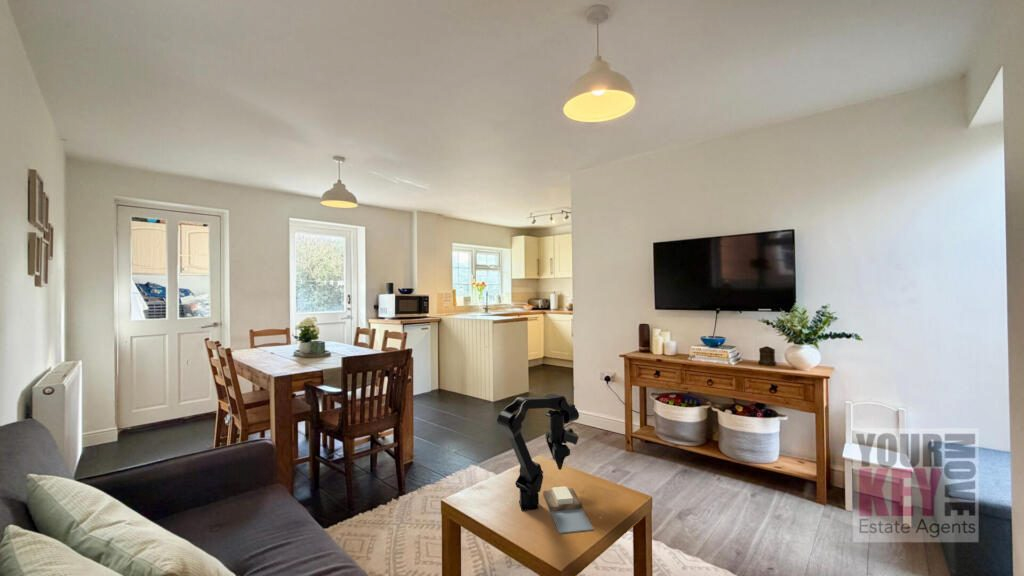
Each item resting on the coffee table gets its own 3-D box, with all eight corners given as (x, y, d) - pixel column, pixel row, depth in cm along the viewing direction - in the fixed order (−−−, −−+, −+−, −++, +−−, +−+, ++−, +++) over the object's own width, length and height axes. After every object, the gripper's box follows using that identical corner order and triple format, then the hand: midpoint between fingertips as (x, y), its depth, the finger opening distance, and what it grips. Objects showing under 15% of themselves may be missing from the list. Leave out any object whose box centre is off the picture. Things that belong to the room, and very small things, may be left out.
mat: (559, 533, 141) (559, 532, 141) (550, 512, 154) (550, 511, 154) (593, 530, 143) (593, 528, 143) (582, 509, 156) (582, 508, 156)
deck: (550, 512, 154) (550, 507, 154) (543, 495, 166) (543, 490, 166) (581, 509, 156) (581, 504, 156) (572, 493, 168) (572, 488, 168)
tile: (557, 504, 155) (557, 499, 155) (551, 492, 164) (551, 487, 164) (573, 503, 156) (573, 498, 156) (566, 491, 165) (566, 486, 165)
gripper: (583, 433, 160) (583, 473, 161) (570, 417, 179) (570, 453, 179) (554, 434, 159) (554, 475, 159) (545, 418, 178) (545, 455, 178)
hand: (557, 464), depth 169 cm, fingers open, 9 cm apart
